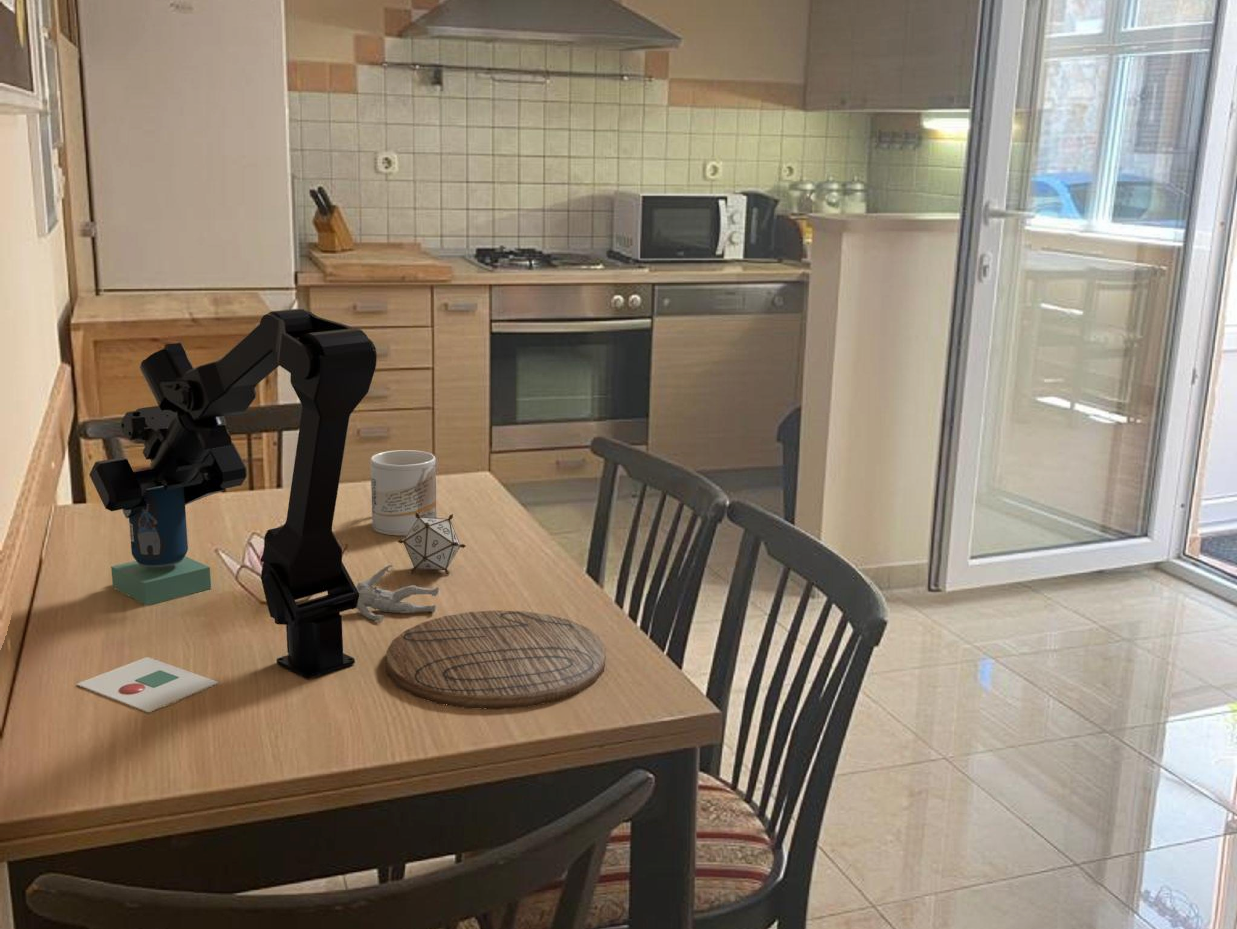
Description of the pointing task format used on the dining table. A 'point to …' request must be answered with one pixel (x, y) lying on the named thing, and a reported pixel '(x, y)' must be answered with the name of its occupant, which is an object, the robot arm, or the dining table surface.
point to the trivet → (496, 659)
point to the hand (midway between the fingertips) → (152, 509)
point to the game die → (432, 543)
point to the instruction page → (147, 684)
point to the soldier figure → (389, 597)
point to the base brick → (161, 580)
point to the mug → (402, 490)
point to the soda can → (159, 528)
